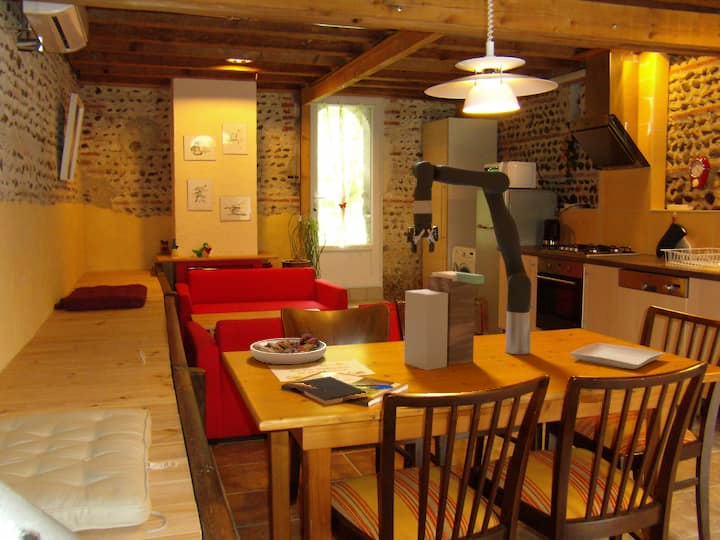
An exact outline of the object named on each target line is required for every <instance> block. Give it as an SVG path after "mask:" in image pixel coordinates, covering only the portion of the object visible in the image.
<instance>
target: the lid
mask: <svg viewBox="0 0 720 540" xmlns="http://www.w3.org/2000/svg"><path fill="white" fill-rule="evenodd" d="M431 274H432V275H431V276H436V277H443V278H450V279H453V282H455V281H459V282H466V283H473V284H475V285H479V284H485V274H477V273H472V272H471V273H470V272H462V271H461V272H460V271H453V270H449V271H448V270H446V271H436V272H435V271H434V272H431Z"/></svg>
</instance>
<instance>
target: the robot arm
mask: <svg viewBox="0 0 720 540" xmlns="http://www.w3.org/2000/svg"><path fill="white" fill-rule="evenodd" d="M411 173H412V175H413V177H414V178H415V179H416V186H415V187H414V189H413V207H412V208H413V225H414V227H413V226H412V227H410V226H409V227H407V235H406V240H407V241H406V242H407V243H409V244H411V252H412V254H415V255H416V254H418V244H417V243H418V242H419V240H421V239H427V241H428V252H429V253H434V251H435V243H437V242H438V241H439V237H440V236H439V227H438V226H432V224H433V201H432V199H433V194H432V190H433V189H432V188H433V183H434V182H437V183H442V184H446V185H452V186H464V187H465V186H466V187H467V186H468V187H480V188H482V189H481V190H482V192H483V195H484V198H485V200H486V203H487V206H488V210H489V213H490V214H489V215H490V218H491V222H492V226H493V231H494V235H495V239H496V242H497V247H498V249H499V253H500V255H501V258H502V260H503V262H504V267H505V274H506V283H507V285H506V286H507V302H506V321H505V322H506V327H505V329H506V330H505V352H506V353H507V354H512V355H527V354H531V339H532V338H531V336H532V333H531V332H532V330H530V313H531V312H530V310H531V301H532V300H531V299H532V281H531V279H530V277H529V276H528V273H527V270H526V268H525V265H524V262H523V257H522V248H521V247H522V246H521V238H520V235H519V229H518V226H517V225H518V224H517V223H516V221H515V220H516V219H514V217H513V215H512V214H511V212H510V211H509V209H508V207H507V205H506V201H505V198H504V193H505V192H506V191H507V190H509V187H510V186H511V180H510V177H509V176H508V175H507V174H506V172H504V171H499V170H497V171H485V170H483V171H482V170H473V169H472V170H471V169H468V168H467V169H466V168H461V167H455V166H451V165H444V164H443V165H442V164H441V165H440V164H439V165H436V164H432V163H431V162H430V161H427V160H424V161H420V162H419V161H418V162H416V163H414V165H413V166H412V168H411Z"/></svg>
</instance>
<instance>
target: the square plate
mask: <svg viewBox="0 0 720 540" xmlns="http://www.w3.org/2000/svg"><path fill="white" fill-rule="evenodd" d="M569 354H570V355H571V356H572V357H573V358H574V359H576V360H579V361H584V362H587V363H591V364H597V365H602V366H607V367H609V366H610V367H613V368H614V367H615V368H620V369H629V370H636V369H638V368H641V367H644V366H645V365H647V364H649V363H652V362H654V361H656V360H658V359H659V358H661V357H662V356H663V355H664V353H663V352H661V351H655V350H649V349H644V348H638V347H634V346H626V345H620V344H619V345H618V344H610V343H603V342H596V343H592V344H588V345H586V346H583V347H581V348H578V349H576V350H572V351H571V352H569Z"/></svg>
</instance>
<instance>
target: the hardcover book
mask: <svg viewBox="0 0 720 540" xmlns="http://www.w3.org/2000/svg"><path fill="white" fill-rule="evenodd" d="M291 383H304V384H306V385H311V386H312V387H316V388H317V389H310V388H304V387H299V386H298V387H299V388H300V389H302V390H304V393H305V394H304V395H305V396H307V397H309V398H310V399H314V400H315V401H317V402H318V403H321V404H323V405H325V406H327V405H331V404H337V403H343V402H342V401H343V398H344V397H346V396H349V395H355V394H361V393H366V392H367V391H365V390H363V389H360V388H358V387H356V386H354V385H351V384H349V383H347V382H344V381H342V380H340V379H336V378H334V377H333V376H324V377H318V378H312V379H306V380H299V381H294V382H291ZM325 390H326V391H325Z"/></svg>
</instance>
